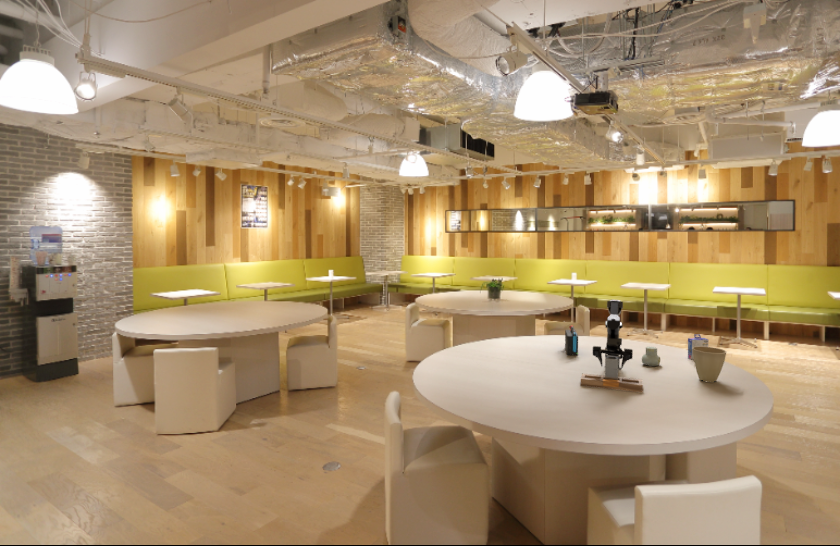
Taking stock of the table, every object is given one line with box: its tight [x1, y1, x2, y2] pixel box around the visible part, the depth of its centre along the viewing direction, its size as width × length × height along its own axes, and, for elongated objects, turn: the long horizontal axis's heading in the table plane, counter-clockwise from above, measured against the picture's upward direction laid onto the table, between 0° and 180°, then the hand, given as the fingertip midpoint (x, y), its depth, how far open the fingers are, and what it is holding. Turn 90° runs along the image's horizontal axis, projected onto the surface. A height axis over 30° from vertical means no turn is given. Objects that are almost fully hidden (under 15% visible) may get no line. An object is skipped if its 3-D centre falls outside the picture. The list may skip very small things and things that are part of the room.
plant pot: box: [693, 346, 727, 383], centre depth 250 cm, size 15×15×16 cm
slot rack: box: [580, 373, 644, 393], centre depth 242 cm, size 10×28×4 cm, turn 67°
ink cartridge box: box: [687, 333, 709, 361], centre depth 292 cm, size 10×6×14 cm, turn 89°
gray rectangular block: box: [604, 356, 619, 380], centre depth 241 cm, size 3×6×13 cm, turn 67°
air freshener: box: [641, 346, 661, 367], centre depth 279 cm, size 11×8×10 cm
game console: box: [564, 325, 579, 356], centre depth 311 cm, size 28×6×15 cm, turn 167°
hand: (611, 367), depth 243 cm, fingers open, 9 cm apart
